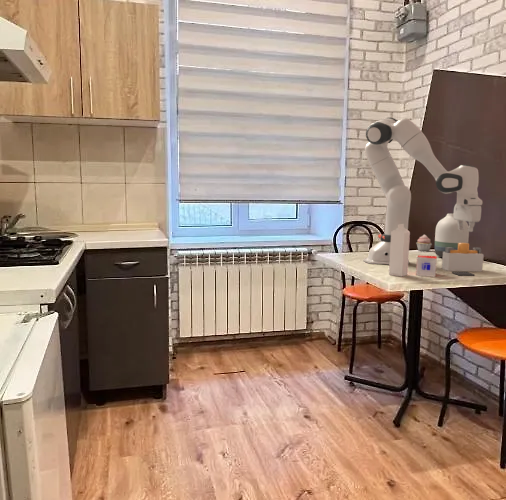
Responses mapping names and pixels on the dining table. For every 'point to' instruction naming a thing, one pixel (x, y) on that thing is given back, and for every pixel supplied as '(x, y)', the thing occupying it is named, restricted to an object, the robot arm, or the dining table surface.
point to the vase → (449, 234)
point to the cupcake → (424, 243)
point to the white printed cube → (426, 265)
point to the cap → (463, 249)
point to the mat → (463, 273)
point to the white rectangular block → (462, 260)
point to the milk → (399, 251)
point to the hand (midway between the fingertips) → (465, 230)
